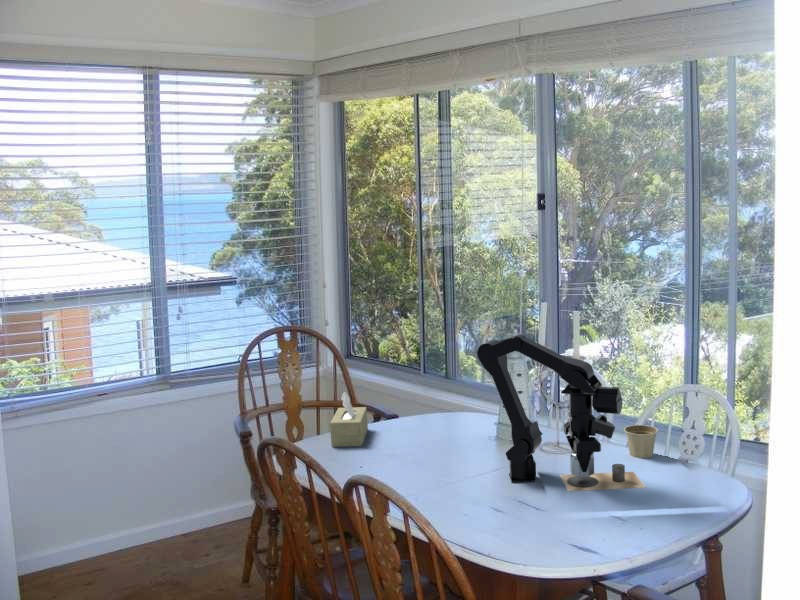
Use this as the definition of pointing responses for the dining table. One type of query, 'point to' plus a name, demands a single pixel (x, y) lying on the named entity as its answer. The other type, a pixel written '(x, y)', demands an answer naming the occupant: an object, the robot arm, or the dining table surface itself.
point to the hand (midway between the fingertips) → (582, 467)
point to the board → (603, 480)
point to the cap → (576, 468)
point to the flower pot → (641, 440)
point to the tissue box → (348, 425)
